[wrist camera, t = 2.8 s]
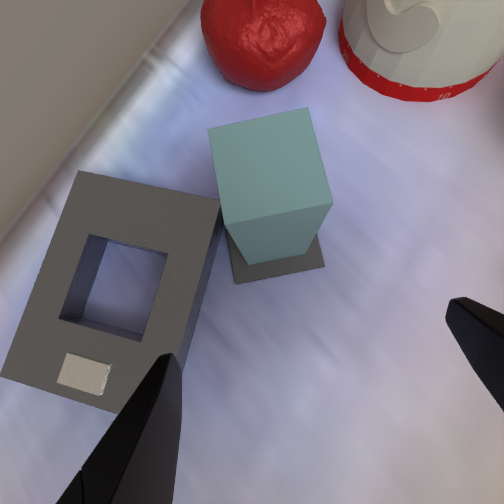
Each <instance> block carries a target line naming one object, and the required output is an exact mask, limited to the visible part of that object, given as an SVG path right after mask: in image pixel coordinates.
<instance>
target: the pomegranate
mask: <svg viewBox="0 0 504 504" xmlns="http://www.w3.org/2000/svg"><path fill="white" fill-rule="evenodd" d="M200 18H201V28H202V33H203V36H204V39H205V42H206V45H207V49H208V52H209V54H210V56H211V57H212V59H213V61H214V63H215V65H216V66H217V67H218V69H219V70H220V71H221V73H222V75H223V76H224V77H225V79H227V80H228V81H229V82H231V83H233V84H237V85H240V86H243V87H246V88H248V89H251V90H256V91H262V92H267V91H272V90H275V89H278V88H281V87H282V86H284V85H286V84H287V83H289V82H290V81H292V80H293V79H294V78H296V77H297V76H298V75H300V74H301V73H302V72H303V71H304V70H305V69H306V68H307V67H308V65H309V64H310V62H311V61H312V59H313V57H314V55H315V53H316V51H317V49H318V46H319V44H320V42H321V39H322V36H323V31H324V28H325V26H326V17H325V16H324V13H323V12H322V8H321V7H320V5H319V4H318V2H317V0H204V2H203V5H202V8H201V16H200Z"/></svg>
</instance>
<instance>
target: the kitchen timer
mask: <svg viewBox="0 0 504 504" xmlns="http://www.w3.org/2000/svg"><path fill="white" fill-rule="evenodd" d="M338 35H339V43H340V51H341V53H342V56H343V58H344V60H345V62H346V64H347V66H348V68H349V69H350V70H351V71H352V72H353V73H354V74H355V75H356V76H357V77H358V79H359V80H360V81H361V82H362V83H363V84H365V85H367V86H368V87H370V88H372V89H374V90H375V91H377V92H379V93H380V94H382V95H385V96H389V97H392V98H396V99H399V100H403V101H415V102H432V101H437V100H441V99H446V98H451V97H454V96H456V95H458V94H460V93H462V92H464V91H466V90H468V89H470V88H472V87H473V86H475V85H476V84H477V83H478V82H479V81H480V80H481V79H482V78H483V77H484V76H485V75H486V74H487V73H488V72H489V71H490V70H491V69H492V68H493V67H494V66H495V64H496V63H497V62H498V61H499V60H500V59H501V58H502V57H503V55H504V0H346V2H345V7H344V11H343V15H342V20H341V24H340V28H339V33H338Z"/></svg>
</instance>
